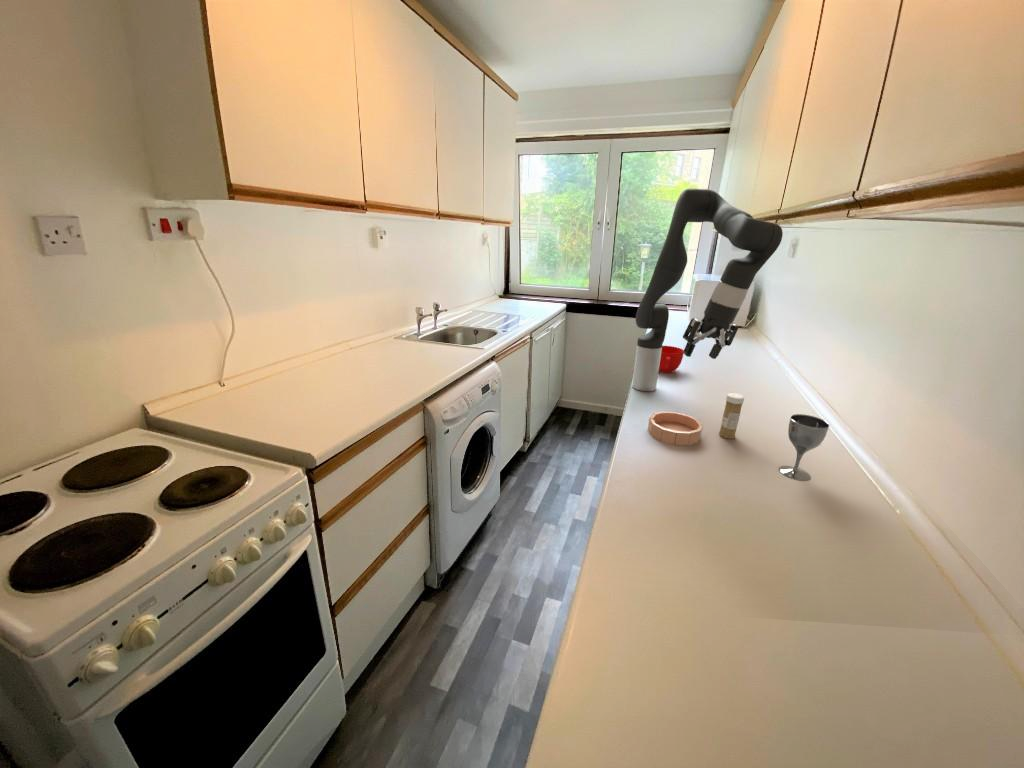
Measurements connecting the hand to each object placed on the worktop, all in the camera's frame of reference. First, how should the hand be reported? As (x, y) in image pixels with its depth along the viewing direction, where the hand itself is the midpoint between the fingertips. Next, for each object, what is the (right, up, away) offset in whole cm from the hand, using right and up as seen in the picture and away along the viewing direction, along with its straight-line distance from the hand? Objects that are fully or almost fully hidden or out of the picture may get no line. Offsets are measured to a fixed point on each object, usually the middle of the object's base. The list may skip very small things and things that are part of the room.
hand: (699, 356), depth 115 cm
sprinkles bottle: (+14, -24, +12) cm, 30 cm away
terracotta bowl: (-2, -23, +13) cm, 27 cm away
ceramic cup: (+16, -3, +69) cm, 71 cm away
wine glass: (+22, -31, -7) cm, 38 cm away
